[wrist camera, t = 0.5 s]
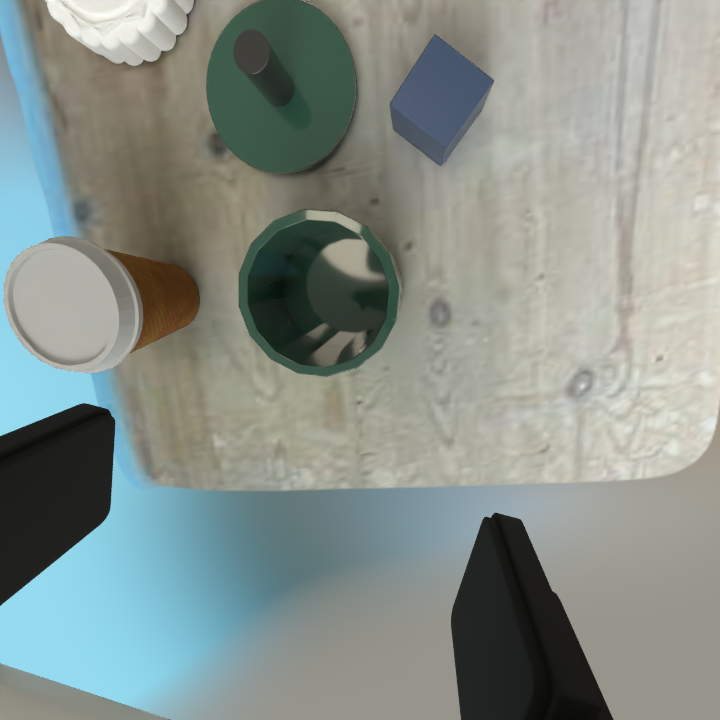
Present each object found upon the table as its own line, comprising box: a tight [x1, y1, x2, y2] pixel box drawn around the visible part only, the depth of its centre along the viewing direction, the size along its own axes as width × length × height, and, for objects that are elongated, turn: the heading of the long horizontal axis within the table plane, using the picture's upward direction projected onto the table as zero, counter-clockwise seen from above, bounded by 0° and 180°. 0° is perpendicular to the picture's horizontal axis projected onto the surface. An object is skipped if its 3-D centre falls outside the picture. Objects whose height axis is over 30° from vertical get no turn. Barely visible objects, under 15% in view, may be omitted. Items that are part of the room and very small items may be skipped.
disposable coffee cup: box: [4, 237, 199, 373], centre depth 32 cm, size 10×10×12 cm
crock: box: [239, 209, 403, 377], centre depth 31 cm, size 11×11×8 cm
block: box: [390, 34, 494, 166], centre depth 29 cm, size 5×5×5 cm
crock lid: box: [206, 0, 356, 174], centre depth 29 cm, size 12×12×7 cm
